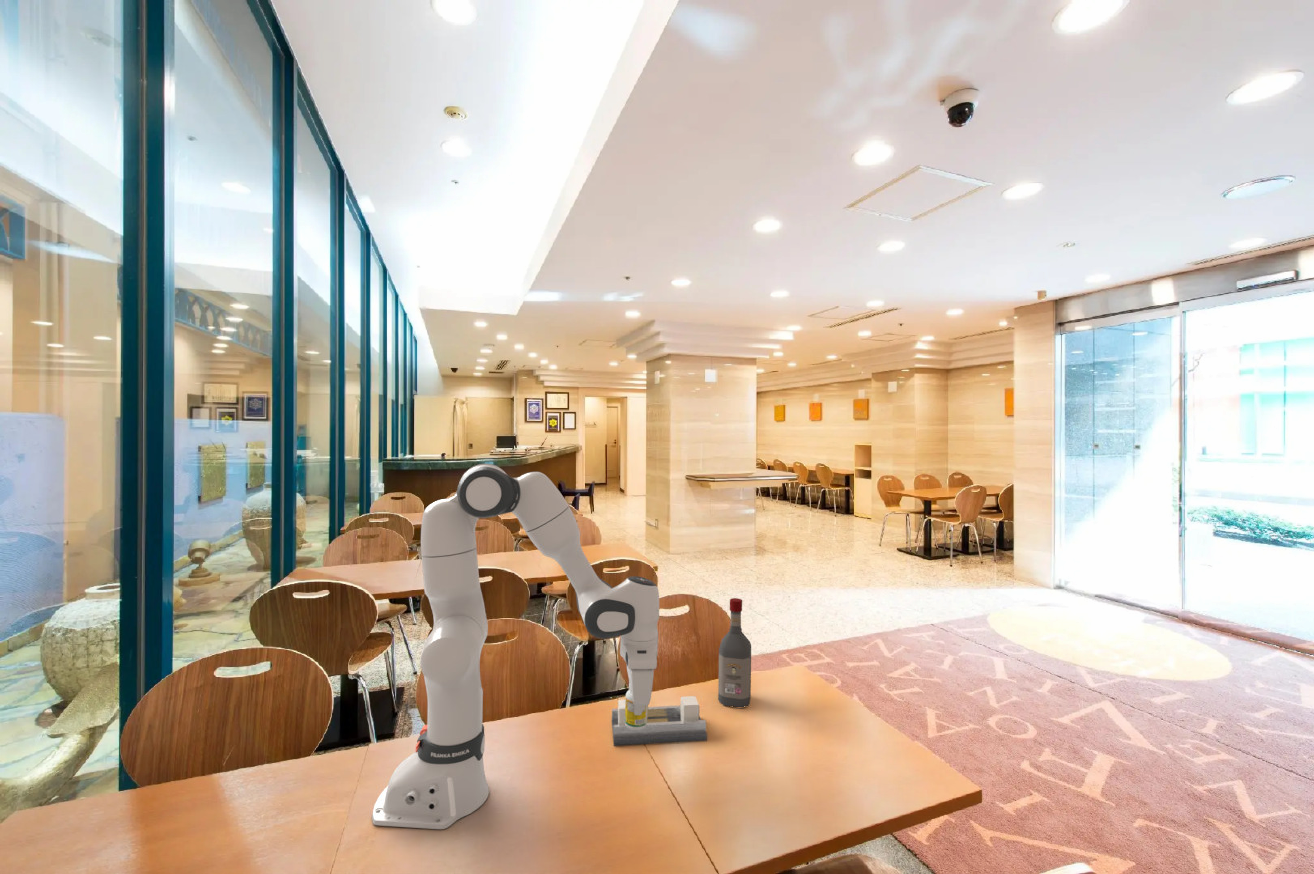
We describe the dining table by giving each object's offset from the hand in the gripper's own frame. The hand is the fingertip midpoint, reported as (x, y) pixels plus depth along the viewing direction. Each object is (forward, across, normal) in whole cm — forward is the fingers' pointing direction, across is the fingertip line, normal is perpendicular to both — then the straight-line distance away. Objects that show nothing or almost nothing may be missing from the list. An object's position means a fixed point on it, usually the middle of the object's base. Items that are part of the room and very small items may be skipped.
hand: (636, 706), depth 125 cm
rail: (+14, -16, +8) cm, 23 cm away
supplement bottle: (+4, 0, 0) cm, 4 cm away
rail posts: (+13, -16, +8) cm, 22 cm away
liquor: (+14, -30, +33) cm, 47 cm away
